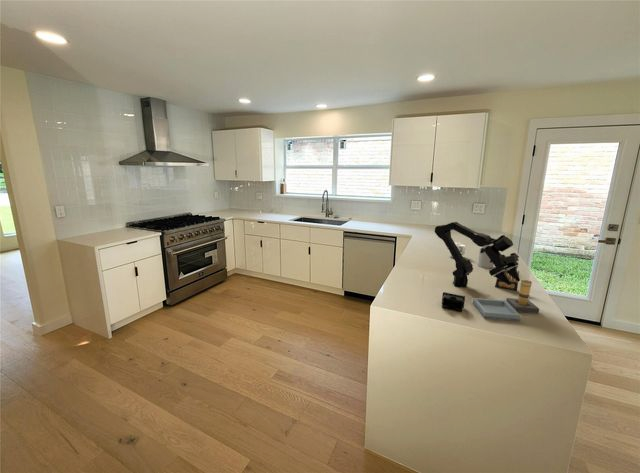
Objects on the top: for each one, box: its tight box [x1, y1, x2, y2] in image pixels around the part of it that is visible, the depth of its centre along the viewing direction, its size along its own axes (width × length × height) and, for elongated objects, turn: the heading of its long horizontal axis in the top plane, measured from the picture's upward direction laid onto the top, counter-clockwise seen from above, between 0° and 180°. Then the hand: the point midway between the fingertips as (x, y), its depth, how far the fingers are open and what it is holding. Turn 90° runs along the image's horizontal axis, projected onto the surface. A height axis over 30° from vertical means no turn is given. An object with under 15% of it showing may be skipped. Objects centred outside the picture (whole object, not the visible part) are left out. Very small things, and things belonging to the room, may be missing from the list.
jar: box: [477, 244, 495, 269], centre depth 199 cm, size 10×10×18 cm
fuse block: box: [506, 297, 540, 314], centre depth 141 cm, size 10×10×2 cm
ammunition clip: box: [494, 270, 520, 292], centre depth 162 cm, size 11×2×12 cm, turn 57°
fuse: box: [517, 279, 533, 306], centre depth 140 cm, size 4×4×14 cm
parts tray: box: [472, 297, 522, 322], centre depth 137 cm, size 15×15×3 cm
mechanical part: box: [447, 241, 467, 258], centre depth 220 cm, size 11×12×12 cm
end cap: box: [441, 291, 466, 313], centre depth 140 cm, size 10×7×7 cm
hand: (514, 282), depth 142 cm, fingers open, 9 cm apart
